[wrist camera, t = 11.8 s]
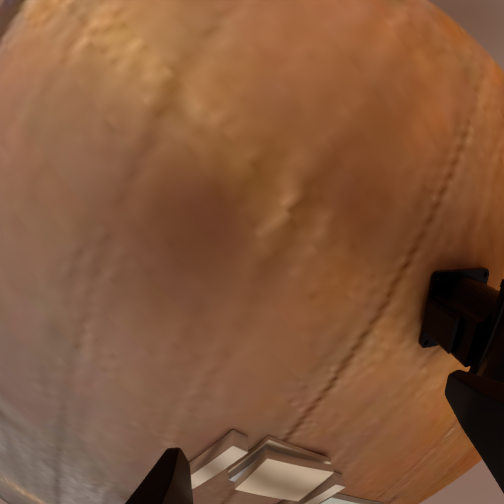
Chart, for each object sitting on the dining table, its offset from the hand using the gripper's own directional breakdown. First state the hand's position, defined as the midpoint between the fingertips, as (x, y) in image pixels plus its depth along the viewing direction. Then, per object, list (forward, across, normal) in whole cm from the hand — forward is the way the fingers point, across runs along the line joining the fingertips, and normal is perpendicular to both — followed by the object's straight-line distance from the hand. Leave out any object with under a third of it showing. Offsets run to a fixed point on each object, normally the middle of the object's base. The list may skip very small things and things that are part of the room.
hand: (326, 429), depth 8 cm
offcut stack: (+13, +2, +19) cm, 23 cm away
